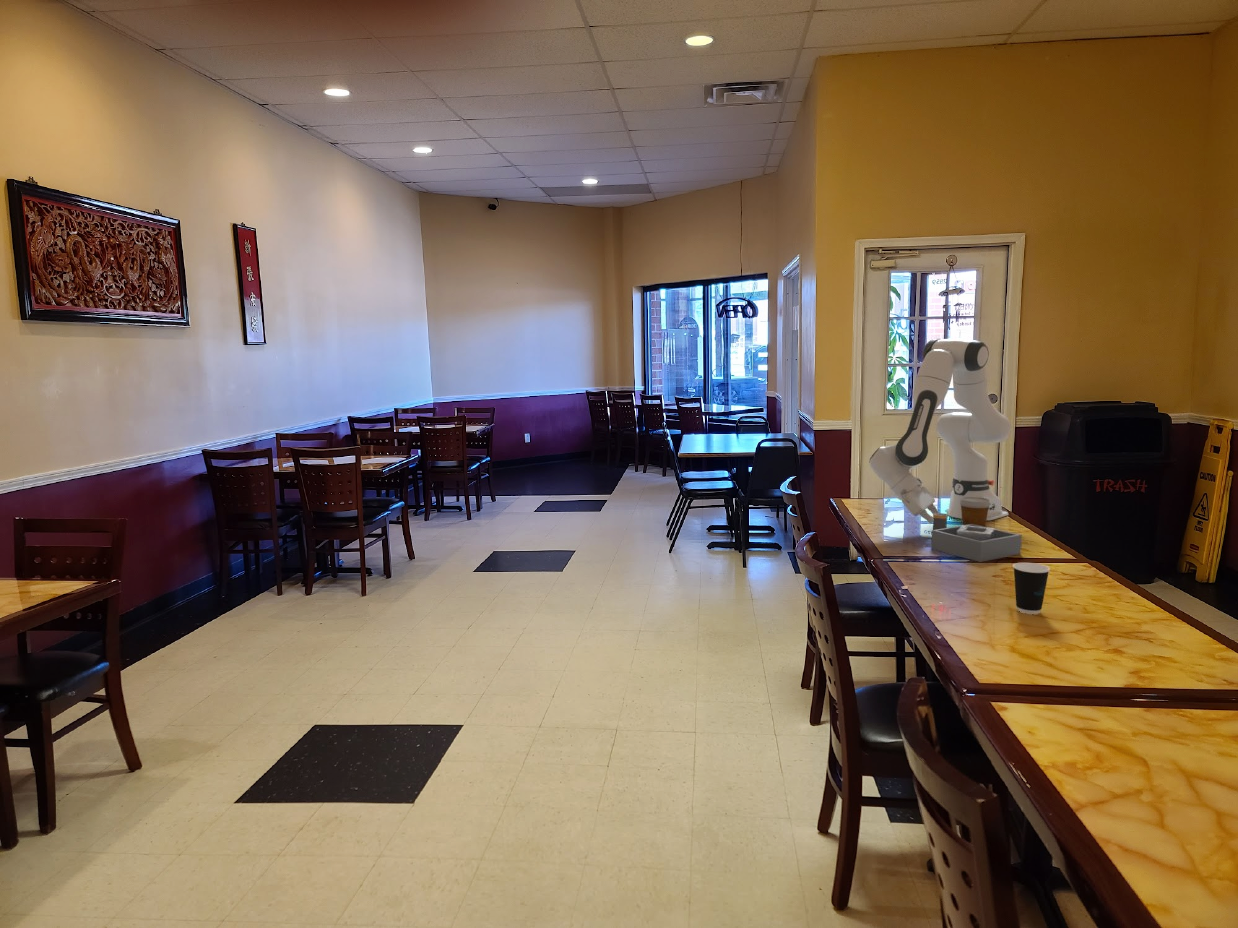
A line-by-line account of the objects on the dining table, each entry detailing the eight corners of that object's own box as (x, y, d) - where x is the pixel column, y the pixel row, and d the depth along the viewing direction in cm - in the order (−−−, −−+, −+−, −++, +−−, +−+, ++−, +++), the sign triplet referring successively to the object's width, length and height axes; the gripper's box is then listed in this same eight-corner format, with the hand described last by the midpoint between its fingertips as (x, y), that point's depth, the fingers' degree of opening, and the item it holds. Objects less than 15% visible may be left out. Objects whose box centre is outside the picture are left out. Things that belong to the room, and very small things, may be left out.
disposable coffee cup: (993, 536, 257) (995, 501, 256) (965, 537, 258) (966, 502, 256) (981, 530, 267) (982, 496, 265) (953, 530, 267) (955, 496, 265)
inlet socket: (961, 543, 246) (962, 524, 245) (994, 546, 241) (995, 528, 240) (956, 549, 238) (957, 530, 237) (989, 553, 233) (990, 534, 232)
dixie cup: (1047, 618, 179) (1050, 573, 178) (1009, 613, 183) (1011, 568, 182) (1047, 608, 186) (1050, 564, 185) (1010, 603, 190) (1013, 560, 189)
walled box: (970, 541, 252) (971, 523, 251) (1020, 553, 236) (1021, 534, 235) (931, 548, 244) (931, 530, 243) (980, 561, 228) (981, 542, 227)
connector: (934, 535, 260) (935, 512, 259) (946, 537, 258) (947, 513, 257) (932, 538, 257) (933, 514, 256) (944, 539, 255) (945, 515, 254)
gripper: (906, 486, 252) (936, 519, 247) (920, 478, 268) (949, 508, 264) (891, 498, 255) (921, 531, 251) (906, 489, 271) (935, 519, 267)
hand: (935, 519), depth 258 cm, fingers open, 8 cm apart
